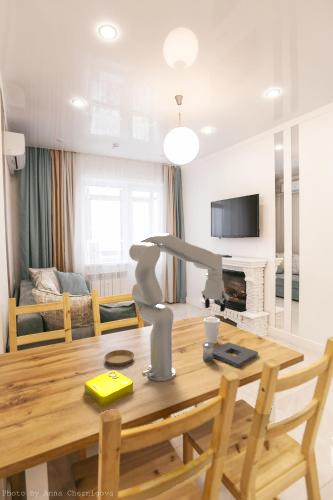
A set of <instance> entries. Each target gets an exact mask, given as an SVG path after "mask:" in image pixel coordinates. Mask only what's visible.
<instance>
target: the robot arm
mask: <svg viewBox="0 0 333 500" xmlns="http://www.w3.org/2000/svg"><path fill="white" fill-rule="evenodd" d="M128 252H129V253H128V254H129V257H130V259H131V260H132V261H134V262H137V264H136V267H135V270H134V275H135V280H136V283H135V284H134V285H133V287H132V290H131V297H132V300H133V302H134V306H135V307H136V308H137V311H138V313H139V316H140V317H141V319H142V320H144V321H145V322H147V323H149V324H151V325H152V328H151V332H150V337H149V338H150V339H149V340H150V341H149V342H150V343H149V344H150V365H149V366H148V369H147V370H145V371H143V372H142V373H141V374H142V377H148V378H149V379H150V380H152V381H155V382H167V381H170V380H172V379H173V378H174V377H175V376H176V369H174V368H173V358H172V357H173V355H172V354H173V353H172V352H173V351H172V349H173V345H172V344H173V343H172V341H173V339H172V333H173V331H172V329H173V325H174V324H173V323H174V320H175V318H174V317H175V316H174V312H173V310H172V309H171V308H170V306H167V305H165V304H162V302H163V300H164V294H163V290H162V288H161V286H160V282H159V280H158V277H157V276H156V266H157V264H158V261H159V259H160V256H161V252H162V253H165V254H167V255H170V256H171V257H172V256H173V257H174V258H176V259H179V260H182V261H183V262H188V263H193V265H194V266H195V267H196V268H198V269H200V270H201V269H202V270H207V273H206V275H205V276H206V278H207V279H205V285H204V290H202V291H201V292H200V293H201V295H202V298H203V300H204V306H205V309H207V308H208V309H209V308H210V307H211V301H210V299H211V300H215V301H219V302H220V305H219V306H220V307H219V308H220V309H219V311H220V312H221V313H222V312H223V313H224V312H225V311H226V304H227V302H229V300H230V298H231V297H230V295H229V294H227V293H226V292H225V285H224V283H225V282H224V280H223V256H222V254H220V253H214V252H212V251H210V250H207V249H206V248H203V247H199V246H197V245H194V244H191V243H189V242H186V241H185V240H183V239H182V238H179V237H178V236H175V235H173V234H172V233H155V234H152V235H150V236H148V237H145V238H143V239H140V240H139V241H136V242H134V243H133V244H132V245H131V246H130V248H129V251H128Z"/></svg>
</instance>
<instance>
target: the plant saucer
mask: <svg viewBox="0 0 333 500" xmlns="http://www.w3.org/2000/svg"><path fill="white" fill-rule="evenodd" d="M134 357H135V353H134V352H133V351H131V350H127V349H116V350H112V351H109V352H107V353H106V354H105V355H104V361H106V362H107V363H108V364H109V365H112V366H116V367H117V366H118V367H119V366H125V365H128V363H130V362H131V361H132V360H133V359H134Z"/></svg>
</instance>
